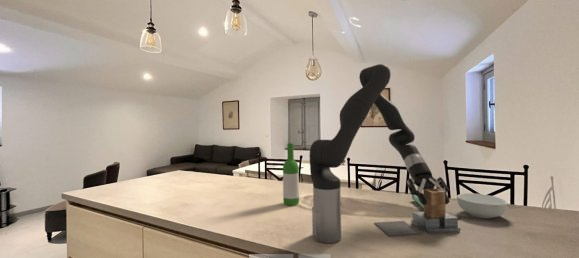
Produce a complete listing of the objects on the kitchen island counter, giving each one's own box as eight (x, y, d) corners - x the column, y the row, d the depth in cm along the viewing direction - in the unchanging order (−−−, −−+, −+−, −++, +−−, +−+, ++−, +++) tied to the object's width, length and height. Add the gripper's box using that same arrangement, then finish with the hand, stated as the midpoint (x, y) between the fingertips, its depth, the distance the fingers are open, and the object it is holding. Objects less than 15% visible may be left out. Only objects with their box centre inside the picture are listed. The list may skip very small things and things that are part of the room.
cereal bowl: (459, 218, 104) (459, 200, 104) (455, 207, 118) (455, 191, 118) (513, 225, 96) (513, 206, 96) (502, 212, 111) (501, 195, 111)
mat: (389, 236, 87) (389, 235, 87) (374, 223, 99) (374, 222, 99) (422, 234, 89) (422, 233, 89) (403, 221, 101) (403, 220, 101)
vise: (427, 234, 89) (427, 200, 89) (411, 223, 99) (410, 193, 99) (470, 231, 90) (470, 198, 90) (450, 221, 100) (449, 192, 100)
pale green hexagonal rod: (442, 204, 104) (421, 188, 128) (427, 209, 105) (409, 192, 129) (448, 217, 103) (425, 199, 128) (433, 222, 104) (414, 203, 129)
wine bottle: (281, 205, 125) (280, 143, 125) (286, 201, 132) (285, 143, 132) (296, 206, 122) (295, 143, 123) (300, 202, 130) (299, 143, 130)
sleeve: (432, 217, 92) (432, 192, 92) (423, 213, 97) (423, 189, 97) (445, 216, 92) (445, 191, 92) (436, 212, 97) (435, 188, 97)
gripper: (404, 162, 101) (422, 199, 90) (437, 161, 103) (460, 197, 91) (397, 173, 107) (413, 209, 95) (429, 172, 108) (449, 207, 97)
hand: (436, 203), depth 93 cm, fingers open, 8 cm apart
